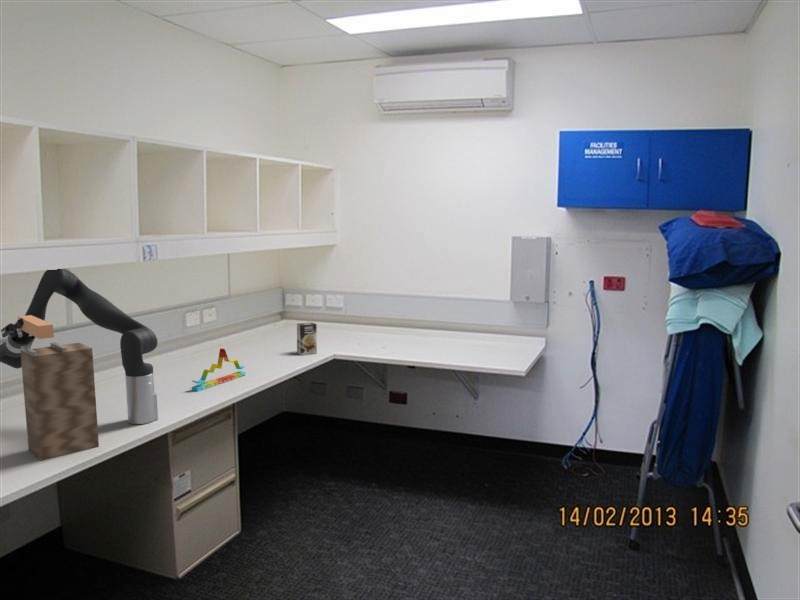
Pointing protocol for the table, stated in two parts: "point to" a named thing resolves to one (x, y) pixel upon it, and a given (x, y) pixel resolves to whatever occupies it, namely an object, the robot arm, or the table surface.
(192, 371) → the table surface
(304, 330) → the coffee box
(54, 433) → the stand
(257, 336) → the table surface
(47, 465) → the table surface
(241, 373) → the chart
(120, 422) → the table surface
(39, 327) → the tan wooden block
